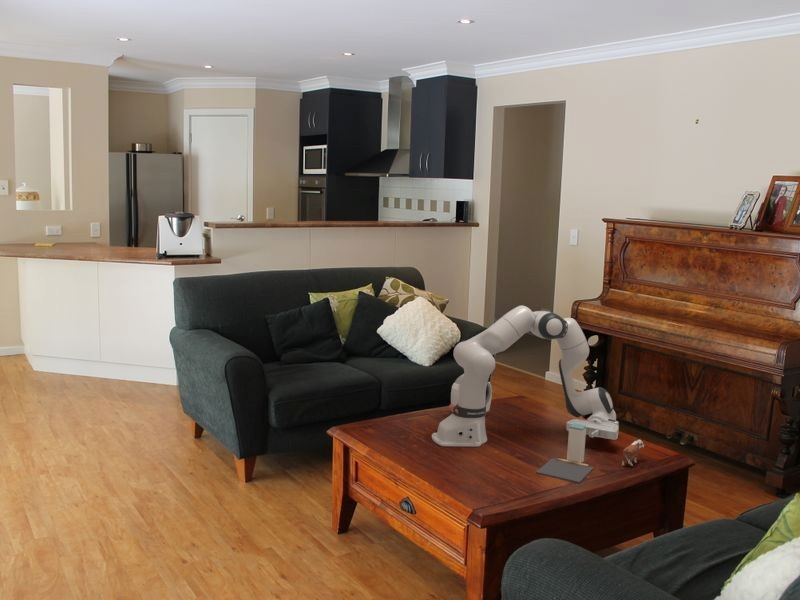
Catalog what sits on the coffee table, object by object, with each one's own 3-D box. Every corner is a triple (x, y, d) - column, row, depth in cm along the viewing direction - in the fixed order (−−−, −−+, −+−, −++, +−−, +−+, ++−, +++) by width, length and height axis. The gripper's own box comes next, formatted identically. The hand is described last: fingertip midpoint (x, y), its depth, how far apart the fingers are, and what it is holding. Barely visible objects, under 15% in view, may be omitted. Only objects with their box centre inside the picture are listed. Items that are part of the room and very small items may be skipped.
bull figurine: (645, 460, 296) (646, 439, 295) (628, 468, 287) (630, 447, 285) (634, 457, 299) (636, 436, 298) (617, 465, 290) (619, 444, 288)
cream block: (566, 462, 291) (569, 426, 289) (570, 458, 296) (573, 423, 293) (579, 465, 289) (582, 429, 287) (583, 461, 293) (586, 425, 291)
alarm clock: (458, 421, 336) (460, 376, 333) (448, 416, 343) (450, 371, 340) (492, 416, 345) (494, 372, 342) (481, 411, 352) (483, 368, 349)
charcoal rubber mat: (536, 473, 279) (536, 471, 279) (552, 459, 293) (552, 458, 293) (579, 483, 271) (579, 481, 271) (593, 468, 285) (593, 467, 285)
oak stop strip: (556, 461, 291) (556, 459, 291) (557, 460, 293) (557, 457, 293) (587, 468, 285) (587, 465, 285) (588, 467, 287) (588, 464, 287)
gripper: (572, 413, 318) (561, 421, 306) (622, 422, 308) (612, 431, 296) (571, 428, 319) (560, 437, 307) (621, 437, 309) (611, 447, 297)
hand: (586, 434), depth 301 cm, fingers closed
